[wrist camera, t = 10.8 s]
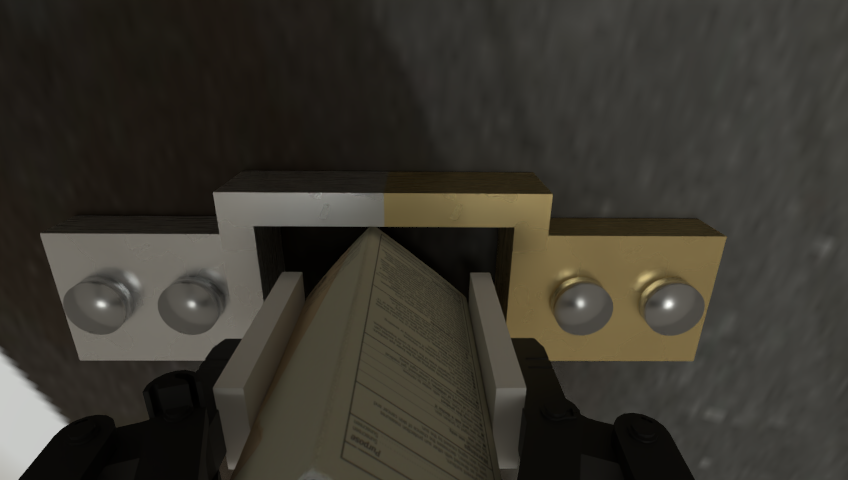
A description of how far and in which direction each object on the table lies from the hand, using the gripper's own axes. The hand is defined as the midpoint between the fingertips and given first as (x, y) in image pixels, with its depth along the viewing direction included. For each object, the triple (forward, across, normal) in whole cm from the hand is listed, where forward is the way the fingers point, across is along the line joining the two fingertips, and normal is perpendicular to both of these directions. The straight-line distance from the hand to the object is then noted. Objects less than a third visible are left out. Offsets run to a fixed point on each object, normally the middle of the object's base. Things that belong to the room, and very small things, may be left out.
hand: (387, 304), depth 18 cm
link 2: (+2, +6, 0) cm, 7 cm away
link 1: (+2, -6, 0) cm, 7 cm away
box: (+1, 0, 0) cm, 1 cm away
